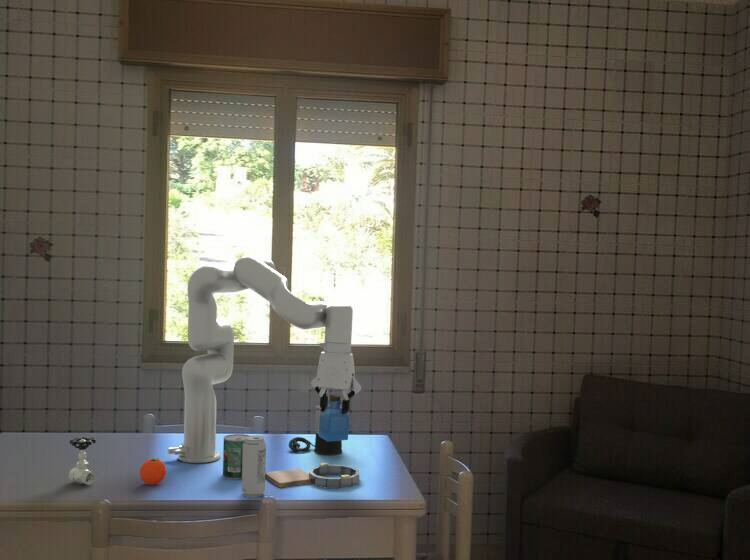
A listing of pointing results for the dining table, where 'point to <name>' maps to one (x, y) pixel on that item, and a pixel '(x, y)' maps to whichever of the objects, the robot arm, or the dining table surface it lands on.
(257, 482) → the energy drink can
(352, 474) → the collar
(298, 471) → the pad
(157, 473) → the clementine
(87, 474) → the valve
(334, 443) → the milk frother
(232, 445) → the canned tomato
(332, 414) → the perfume bottle
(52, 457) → the dining table surface
